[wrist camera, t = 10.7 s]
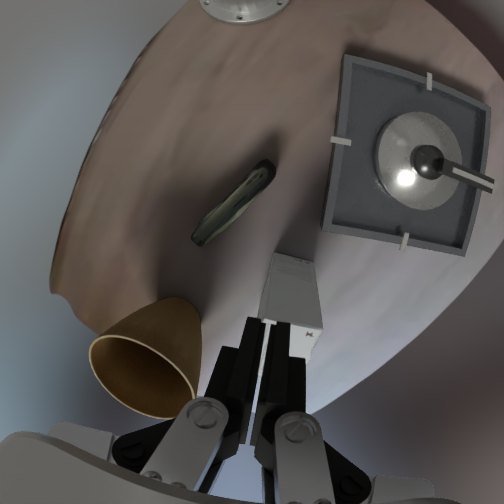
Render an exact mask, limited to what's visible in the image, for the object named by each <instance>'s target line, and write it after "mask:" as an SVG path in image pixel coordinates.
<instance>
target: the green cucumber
mask: <svg viewBox="0 0 504 504" xmlns="http://www.w3.org/2000/svg"><path fill="white" fill-rule="evenodd" d="M275 175H276V169H275V167H274V166H273V164H272V163H271V162H270V161H269V160H268V159H264V160H262V161H260V162H259V163H258V164H257V165H256V166H255V167H254V168H253V170H252V171H251V172H250V173H249V174H248V175H247V176H246V177H245V178H244V179H243V180H242V181H241V182H240V183H239V184H238V185H237V187H235V188H234V190H233V191H232V192H231V193H230V194H229V195H228V196H227V197H226V198H225V199H224V200H223V201H222V202H221V203H220V204H218V205H217V206H216V207H215V208H213V209H212V210H211V211H210V212H209V213H208V214H207V215H206V216H205V217H204V218H203V219H202V220H201V221H200V223H199V224H198V226H197V227H196V229H195V231H194V232H193V234H192V236H191V240H192V241H193V242H194V243H195V244H197V245H198V246H199V247H203V246H204V245H206V244H208V243H209V242H210V241H211V240H212V239H213V238H214V237H215V236H216V235H217V234H219V233H221V232H223V231H225V230H226V229H227V228H228V227H229V226H230V225H231V224H232V223H233V222H234V221H235V220H236V219H237V218H238V217H239V216H240V215H241V214H242V213H243V212H244V210H245V209H246V208H247V207H248V206H249V205H250V204H251V203H252V202H253V201H254V200H255V199H256V198H257V197H258V196H259V195H260V194H261V193H262V192H263V190H264V189H265V188H266V187H267V186H268V185H269V184H270V183H271V182H272V181H273V179H274V178H275Z"/></svg>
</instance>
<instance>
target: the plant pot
mask: <svg viewBox="0 0 504 504" xmlns="http://www.w3.org/2000/svg"><path fill="white" fill-rule="evenodd" d="M201 355H202V334H201V323H200V317H199V314H198V312H197V310H196V308H195V307H194V306H193V305H192V304H191V303H189V302H188V301H186V300H184V299H182V298H178V297H169V298H166V299H163V300H160V301H157V302H154V303H152V304H150V305H147V306H145V307H143V308H141V309H139V310H137V311H136V312H134V313H132V314H130V315H129V316H127V317H125V318H124V319H122V320H121V321H119V322H118V323H116V324H115V325H114V326H112V327H111V328H110V329H108V330H107V331H106V332H104V333H103V334H102V335H100V336H99V337H98V338H97V339H95V340H94V341H93V343H92V344H91V346H90V348H89V361H90V364H91V367H92V370H93V372H94V374H95V376H96V377H97V379H98V380H99V382H100V383H101V384H102V386H103V387H104V388H105V389H106V390H107V391H108V392H109V393H110V394H111V395H112V396H113V397H114V398H116V399H117V400H118V401H119V402H121V403H122V404H124V405H125V406H127V407H129V408H131V409H132V410H134V411H136V412H139V413H141V414H144V415H147V416H149V417H154V418H158V419H173V418H175V417H177V416H178V415H179V413H180V412H181V410H182V408H183V407H184V406H185V405H186V404H187V402H189V401H191V400H193V399H196V396H197V389H198V383H199V377H200V368H201Z"/></svg>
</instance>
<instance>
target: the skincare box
mask: <svg viewBox="0 0 504 504" xmlns="http://www.w3.org/2000/svg"><path fill="white" fill-rule="evenodd" d="M257 318H260V319H261V322H262V323H266V329H265V335H264V341H263V348H262V354H261V360H260V366H259V372H258V375H259V376H262V372H263V366H264V361H265V355H266V349H267V343H268V338H269V332H270V326H271V324H275V325H276V322H277V321H280V322H288V323H291V328H290V348H289V356H292V357H301V358H305V359H306V364H307V363H308V362H309V361H310V359H311V353H312V350H313V348H314V346H315V344H316V342H317V340H318V338H319V337H320V335H321V333H322V331H323V323H322V316H321V308H320V301H319V295H318V288H317V281H316V275H315V269H314V263H313V262H311V261H307V260H303V259H299V258H295V257H291V256H288V255H284V254H280V253H276V252H274V253H273V256H272V262H271V266H270V270H269V274H268V278H267V281H266V285H265V288H264V291H263V294H262V296H261V300H260V305H259V310H258V316H257Z"/></svg>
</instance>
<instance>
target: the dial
mask: <svg viewBox="0 0 504 504" xmlns="http://www.w3.org/2000/svg"><path fill="white" fill-rule="evenodd" d="M374 161H375V167H376V171H377V174H378V177H379V179H380V181H381V183H382V185H383V187H384V188H385V189H386V191H387V192H388V193H389V194H390V195H391V196H392V197H393V198H395V199H396V200H398V201H399V202H401V203H402V204H404V205H406V206H408V207H410V208H413V209H418V210H429V209H433V208H436V207H438V206H440V205H442V204H444V203H445V202H446V201H447V200H448V199H449V198H450V197H451V196H452V195H453V193H454V192H455V190H456V188H457V186H458V184H459V181H460V182H463V183H465V184H468V185H470V186H473V187H475V188H478V189H480V190H483V191H486V192H489V193H491V194H492V190H493V187H494V179H492V178H490V177H488V176H485V175H483V174H481V173H479V172H477V171H474V170H472V169H470V168H467V167H465V166H463V165H462V155H461V150H460V147H459V144H458V141H457V139H456V137H455V135H454V134H453V132H452V131H451V129H450V128H449V127H448V126H447V125H446V124H445V123H444V122H443V121H442V120H440V119H439V118H437V117H436V116H434V115H431V114H429V113H425V112H409V113H405V114H401V115H398V116H396V117H394V118H393V119H391V120H390V121H389V122H388V123H387V124H386V125H385V126H384V127H383V129H382V130H381V132H380V134H379V135H378V138H377V141H376V145H375V152H374Z"/></svg>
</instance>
